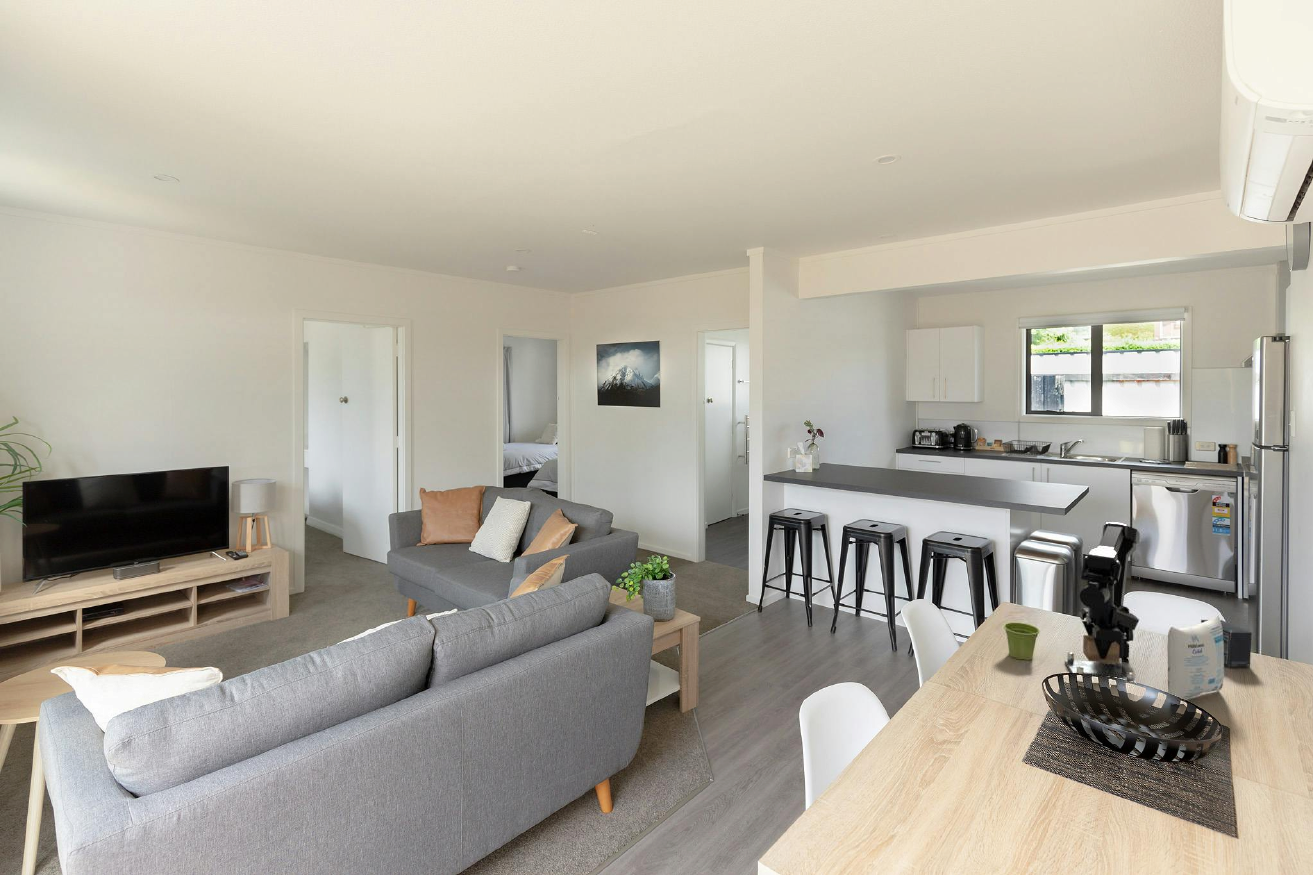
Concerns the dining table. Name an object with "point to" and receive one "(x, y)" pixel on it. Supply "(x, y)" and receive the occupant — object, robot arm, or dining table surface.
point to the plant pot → (1021, 639)
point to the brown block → (1092, 651)
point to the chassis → (1098, 668)
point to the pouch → (1196, 659)
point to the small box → (1236, 645)
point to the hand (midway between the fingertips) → (1099, 654)
